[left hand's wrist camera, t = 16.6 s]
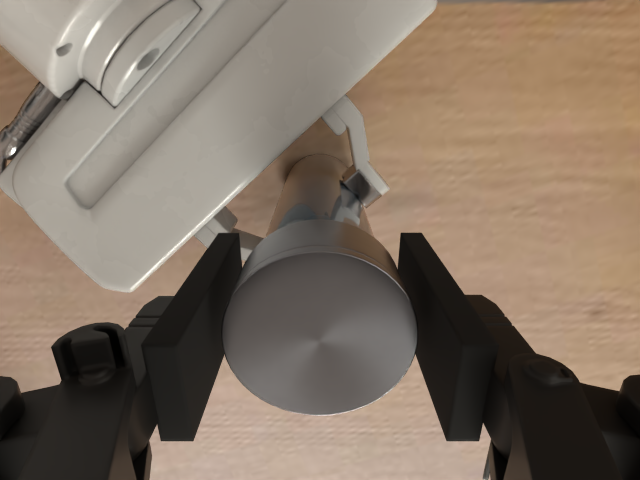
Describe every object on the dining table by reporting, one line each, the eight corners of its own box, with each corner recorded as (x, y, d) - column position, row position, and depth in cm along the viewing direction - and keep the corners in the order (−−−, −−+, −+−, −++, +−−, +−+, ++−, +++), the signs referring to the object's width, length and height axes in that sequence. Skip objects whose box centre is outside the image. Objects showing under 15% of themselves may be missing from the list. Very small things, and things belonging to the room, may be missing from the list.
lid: (401, 354, 13) (418, 409, 11) (252, 366, 13) (239, 422, 11) (399, 210, 11) (418, 241, 9) (225, 226, 12) (202, 260, 9)
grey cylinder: (271, 193, 25) (206, 337, 11) (314, 139, 24) (305, 219, 10) (324, 234, 26) (330, 414, 12) (368, 183, 25) (435, 317, 11)
